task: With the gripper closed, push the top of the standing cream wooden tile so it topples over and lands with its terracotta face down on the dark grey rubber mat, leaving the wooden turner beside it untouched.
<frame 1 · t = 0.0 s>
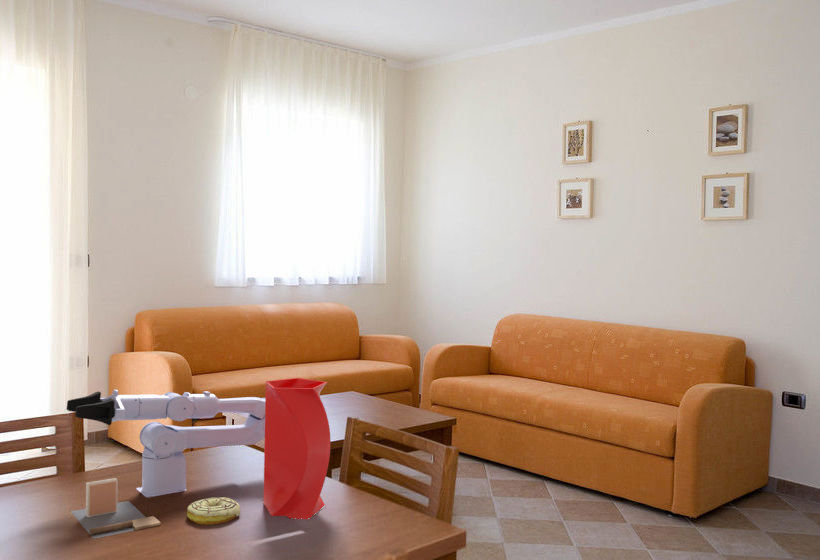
hand: (71, 408, 160), 22 cm above the table, tool horizontal, fingers open, 7 cm apart
tile: (101, 513, 156), point 1 cm above the table, touching mat
decorated donut: (213, 520, 156), on the table
turner: (144, 524, 150), point 1 cm above the table, touching mat
vase: (290, 510, 163), on the table
mat: (112, 521, 153), on the table
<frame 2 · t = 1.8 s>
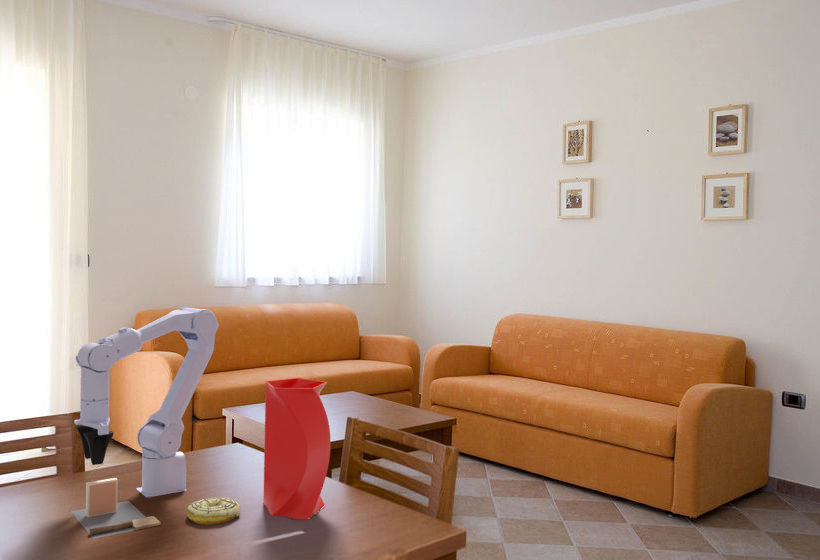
hand: (94, 461, 160), 10 cm above the table, tool pointing down, fingers open, 5 cm apart
nothing on the table moved.
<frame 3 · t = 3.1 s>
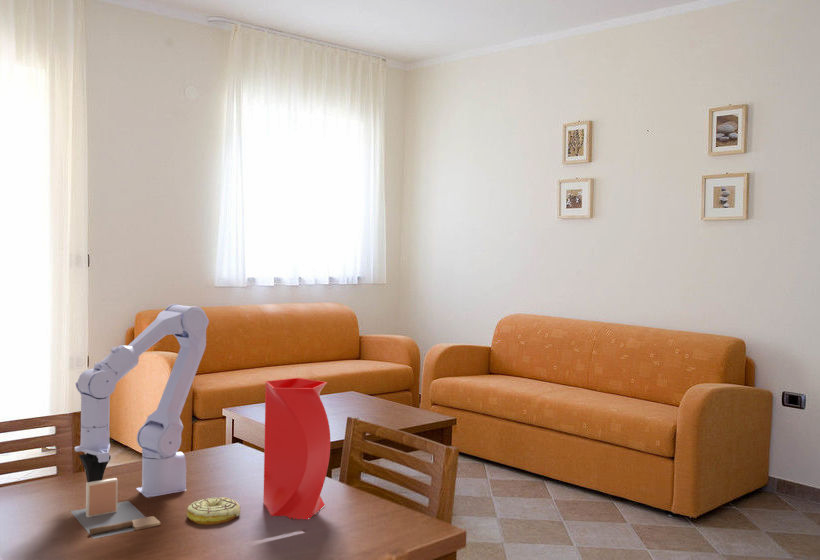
hand: (94, 487, 160), 5 cm above the table, tool pointing down, fingers closed
nothing on the table moved.
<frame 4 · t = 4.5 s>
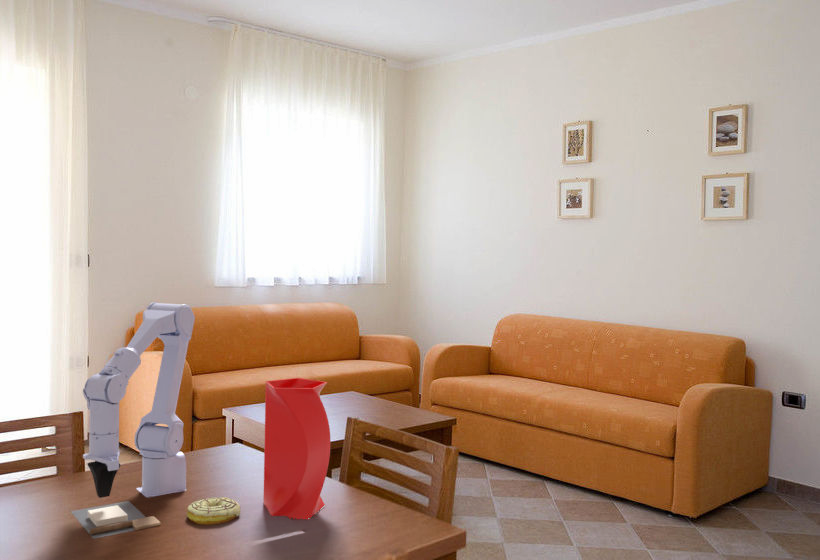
hand: (103, 496, 154), 5 cm above the table, tool pointing down, fingers closed
tile: (102, 510, 155), point 1 cm above the table, tilted 90°, touching mat
everything else where it was.
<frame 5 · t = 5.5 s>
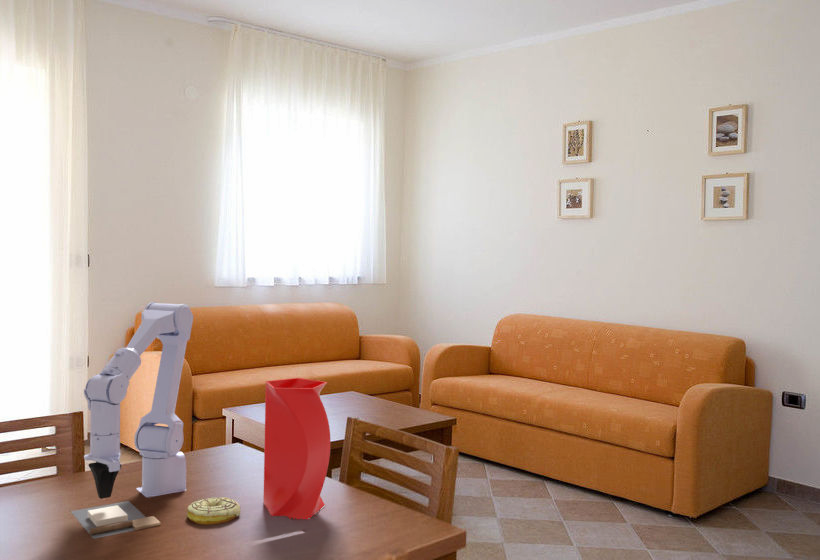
hand: (104, 497, 154), 5 cm above the table, tool pointing down, fingers closed
nothing on the table moved.
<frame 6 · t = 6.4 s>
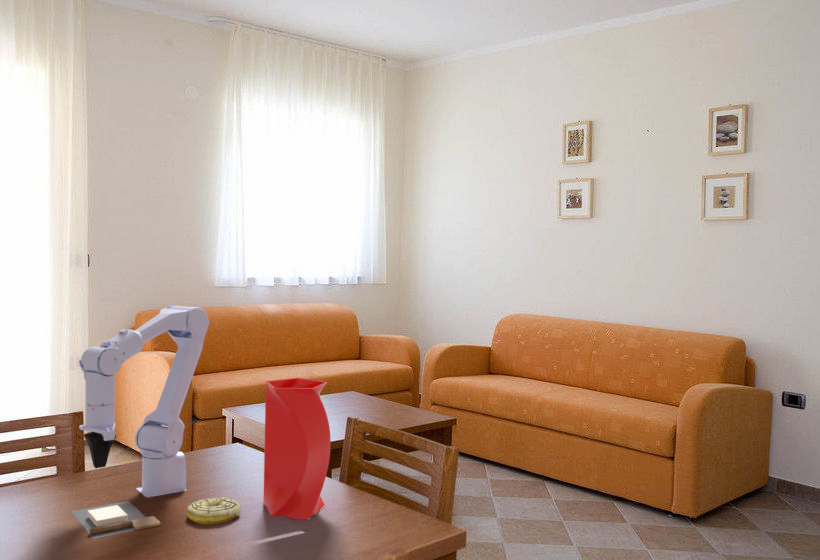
hand: (99, 466, 157), 10 cm above the table, tool pointing down, fingers closed
nothing on the table moved.
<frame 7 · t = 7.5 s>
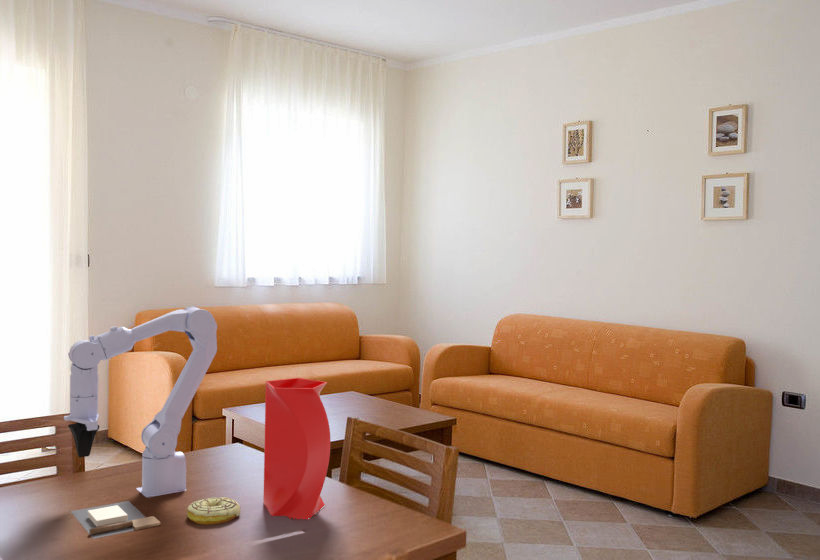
hand: (83, 456, 163), 10 cm above the table, tool pointing down, fingers closed
nothing on the table moved.
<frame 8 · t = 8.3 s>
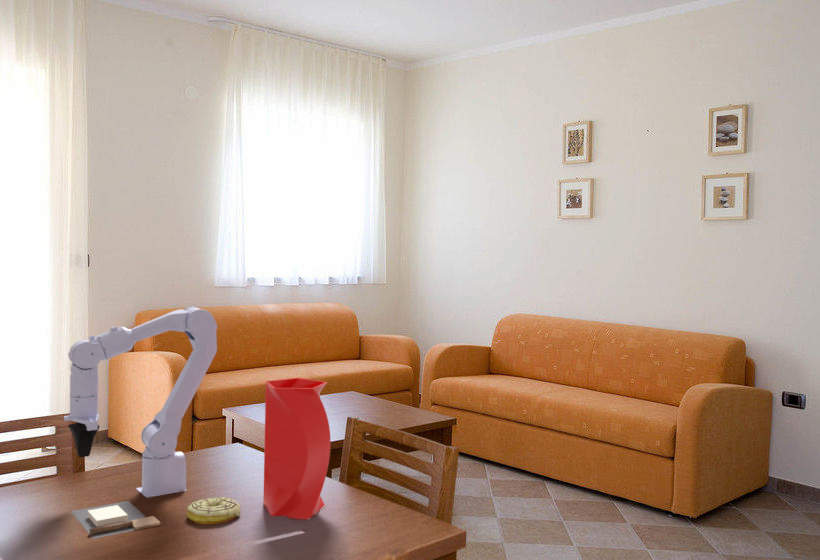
hand: (83, 456, 163), 10 cm above the table, tool pointing down, fingers closed
nothing on the table moved.
at the end: tile tilted 90°; tile inside the target area (3.8 cm from its centre), point 1.5 cm above the table; turner moved 0.0 cm from its start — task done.
